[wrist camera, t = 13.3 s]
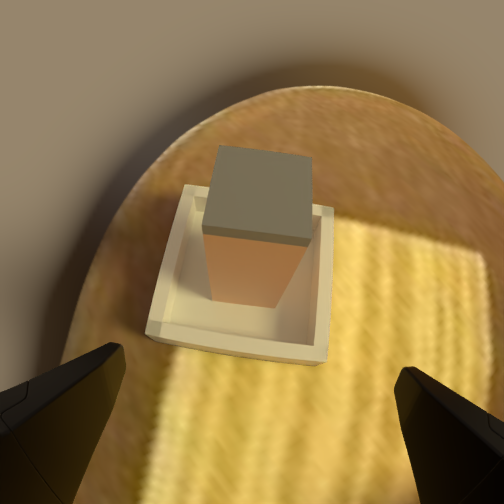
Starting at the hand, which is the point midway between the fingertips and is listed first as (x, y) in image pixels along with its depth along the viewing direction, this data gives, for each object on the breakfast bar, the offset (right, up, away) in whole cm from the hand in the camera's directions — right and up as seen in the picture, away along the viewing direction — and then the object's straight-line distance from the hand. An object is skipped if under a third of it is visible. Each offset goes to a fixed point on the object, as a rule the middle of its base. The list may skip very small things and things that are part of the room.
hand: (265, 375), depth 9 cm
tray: (-1, +2, +16) cm, 16 cm away
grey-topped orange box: (-1, +2, +15) cm, 15 cm away
